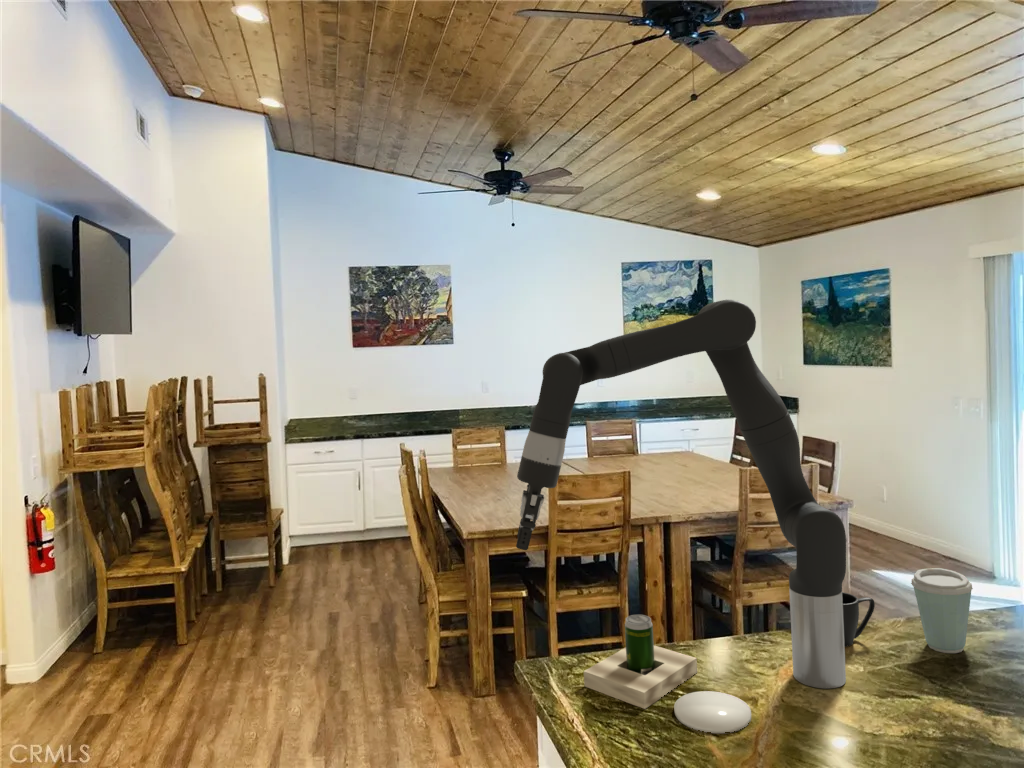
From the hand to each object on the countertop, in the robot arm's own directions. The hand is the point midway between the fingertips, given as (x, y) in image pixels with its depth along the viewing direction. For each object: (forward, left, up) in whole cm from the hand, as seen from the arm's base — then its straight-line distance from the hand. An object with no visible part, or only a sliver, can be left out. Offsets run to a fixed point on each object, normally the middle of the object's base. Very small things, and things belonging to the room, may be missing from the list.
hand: (521, 543), depth 131 cm
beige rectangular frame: (-20, +11, -30) cm, 37 cm away
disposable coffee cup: (-69, +51, -30) cm, 91 cm away
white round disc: (-17, +28, -30) cm, 44 cm away
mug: (-61, +35, -30) cm, 76 cm away
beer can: (-20, +11, -30) cm, 38 cm away
